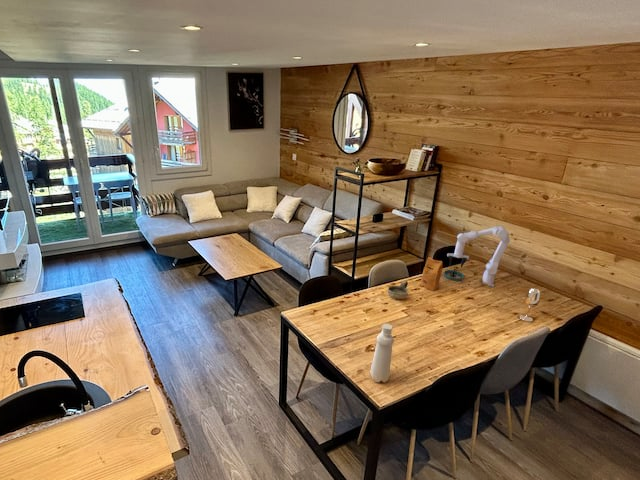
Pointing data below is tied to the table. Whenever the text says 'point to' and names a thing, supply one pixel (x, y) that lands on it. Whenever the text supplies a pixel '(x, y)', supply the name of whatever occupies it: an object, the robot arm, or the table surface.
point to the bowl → (399, 290)
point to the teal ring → (454, 274)
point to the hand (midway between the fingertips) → (455, 266)
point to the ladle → (453, 273)
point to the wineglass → (531, 302)
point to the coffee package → (431, 274)
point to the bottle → (382, 355)
